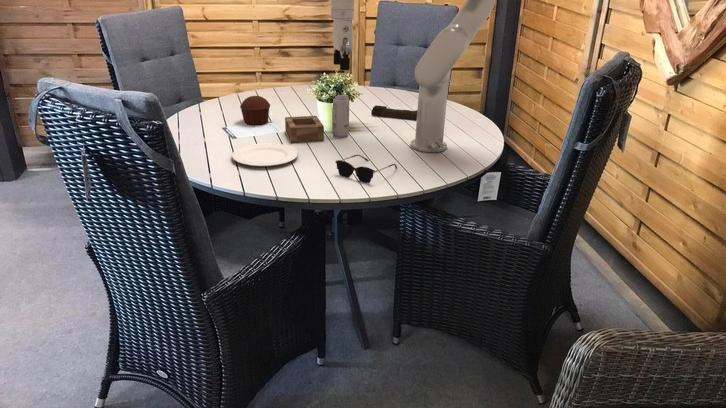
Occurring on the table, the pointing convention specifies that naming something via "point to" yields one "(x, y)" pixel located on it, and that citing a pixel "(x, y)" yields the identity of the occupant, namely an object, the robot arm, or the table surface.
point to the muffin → (255, 111)
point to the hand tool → (393, 112)
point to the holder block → (304, 129)
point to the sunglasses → (357, 170)
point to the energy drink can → (340, 116)
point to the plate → (264, 155)
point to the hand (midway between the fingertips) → (341, 67)
